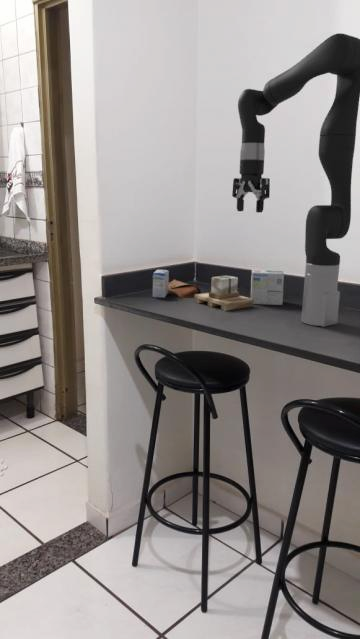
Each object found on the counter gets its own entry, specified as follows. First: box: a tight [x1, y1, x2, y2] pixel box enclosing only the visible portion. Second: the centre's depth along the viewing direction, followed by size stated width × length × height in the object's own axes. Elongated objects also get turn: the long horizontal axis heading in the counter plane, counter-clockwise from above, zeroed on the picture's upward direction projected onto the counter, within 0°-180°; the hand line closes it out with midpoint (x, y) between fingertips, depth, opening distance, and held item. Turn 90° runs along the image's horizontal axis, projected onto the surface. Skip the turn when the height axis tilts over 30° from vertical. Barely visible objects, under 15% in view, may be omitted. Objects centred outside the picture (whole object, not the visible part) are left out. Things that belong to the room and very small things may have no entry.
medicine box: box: [152, 269, 170, 299], centre depth 182 cm, size 8×4×9 cm, turn 172°
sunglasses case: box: [168, 278, 202, 299], centre depth 188 cm, size 18×7×7 cm
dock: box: [193, 292, 254, 312], centre depth 170 cm, size 16×12×2 cm
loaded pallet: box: [208, 275, 240, 300], centre depth 169 cm, size 5×9×6 cm, turn 128°
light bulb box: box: [250, 269, 285, 306], centre depth 173 cm, size 11×7×11 cm, turn 84°
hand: (249, 211), depth 165 cm, fingers open, 8 cm apart
